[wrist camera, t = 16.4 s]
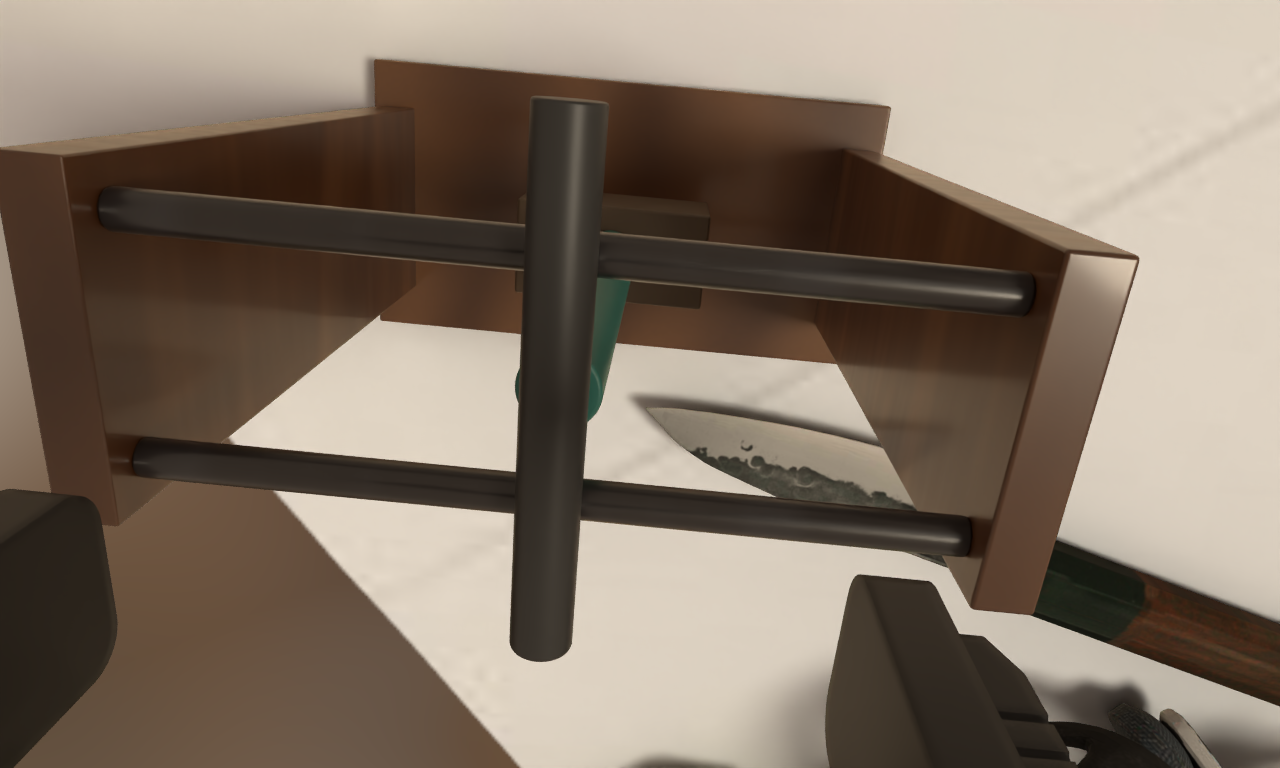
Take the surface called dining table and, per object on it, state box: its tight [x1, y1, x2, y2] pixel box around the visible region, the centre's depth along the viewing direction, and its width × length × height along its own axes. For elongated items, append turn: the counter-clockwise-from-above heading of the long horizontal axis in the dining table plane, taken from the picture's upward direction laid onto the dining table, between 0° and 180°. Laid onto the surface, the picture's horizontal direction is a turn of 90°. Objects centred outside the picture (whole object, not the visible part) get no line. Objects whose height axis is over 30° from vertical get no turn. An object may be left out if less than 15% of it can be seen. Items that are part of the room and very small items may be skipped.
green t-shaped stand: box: [510, 96, 711, 662], centre depth 21 cm, size 6×10×16 cm, turn 175°
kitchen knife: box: [646, 408, 1280, 706], centre depth 36 cm, size 36×2×5 cm
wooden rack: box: [0, 59, 1139, 615], centre depth 24 cm, size 19×10×20 cm, turn 85°
